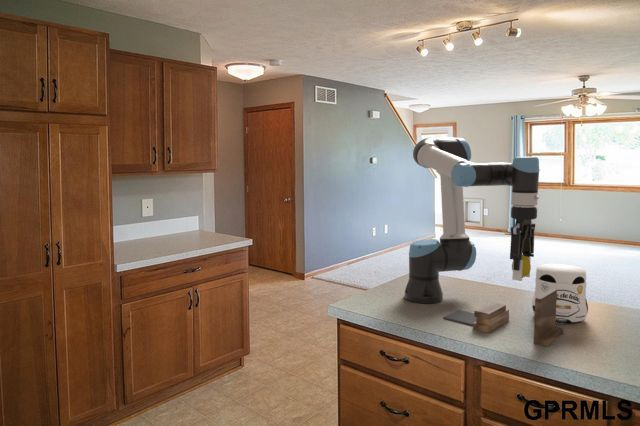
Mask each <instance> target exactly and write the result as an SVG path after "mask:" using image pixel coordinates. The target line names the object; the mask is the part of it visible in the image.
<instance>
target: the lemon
mask: <svg viewBox="0 0 640 426" xmlns="http://www.w3.org/2000/svg"><path fill="white" fill-rule="evenodd" d="M521 260H523V268H522V279H523V278H527V277H526V276H527V275H528V274H529V273H530V274H531V268H532V267H531V260H530V261H529V259H528V258H527V257H525V256H524V255H523V254H522V259H521ZM511 271H512V272H513V262H512V264H511Z"/></svg>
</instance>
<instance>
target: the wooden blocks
mask: <svg viewBox="0 0 640 426" xmlns="http://www.w3.org/2000/svg"><path fill="white" fill-rule="evenodd" d="M556 301H557V290H556V289H551V290H549V291H547V292H546V293H544V294H542V295H540V296H538V297H537V298H535V314H534V317H533V318H534V323H533V344H535V345H538V346H539V345H540V346H543V347H547V348H548V347H549V346H551V344H553V343H554V342H555V341H557V340H558V339H559V338H560V337H562V336H563V335H564V328H565V327H560V326H556V324H557V323H556ZM473 313H474V317H476V322H474V323H473V326H472V329H473V330H475V331H480V332H484V333H490V332H492V331H494V330H495V329H496V328H498V327H500V326H502V325H504V324H506V323H507V322H509V321H510V309H509V308H507V305H506V304H504V303H498V302H494V301H492V302H489V303H487V304H485V305H483V306H480V307H479V308H476V309H475V310H474V311H473Z"/></svg>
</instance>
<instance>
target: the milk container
mask: <svg viewBox="0 0 640 426" xmlns="http://www.w3.org/2000/svg"><path fill="white" fill-rule="evenodd" d="M551 289H556V290H557V301H556V323H555V324H563V325H570V324H571V325H574V324H580V323H582V322H584V321H585V320H586V319H587V317H588V313H589V312H588V311H589V305H588V301H587V293H586V291H587V272H586V269H584V268H583V267H580V266H576V265H571V264H563V263H542V264H538V265H537V266H536V270H535V289H534V294H533V296H532V299H531V308H532V313H533V314H534V315H535V298H537V297H538V296H540V295H542V294H544V293H546V292H547V291H549V290H551Z"/></svg>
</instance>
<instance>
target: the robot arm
mask: <svg viewBox="0 0 640 426" xmlns="http://www.w3.org/2000/svg"><path fill="white" fill-rule="evenodd" d="M412 157H413V159H414V162H415V163H416V164H417V165H418V166H419V167H422V168H425V169H432V170H435V172H436V173H437V174H438V175H439V176H440V177H439V178H440V192H441V193H440V194H441V195H440V196H441V215H442V218H441V219H442V234H441V235H440V237H439V240H438V239H436V238H427V239H425V238H424V239H419V240H415V241H413V242H411V244H410V245H409V250H408V281H407V284H406V286H405V289H404V299H405V300H407V301H410V302H412V301H413V302H412V303H418V304H437V303H439V302H442V301H443V300H444V293H443V290H442V287H441V283H440V280H439V275H440V272H441V273H442V272H455V271H459V272H461V271H466V270H469V269H471V268H472V267H473V265H475V262H476V260H477V249H476V248H477V247H476V245H475V243H474V242H473V241H471V240H470V236H469V235H468V234H466V226H465V225H466V223H465V222H466V221H465V206H464V204H465V203H464V188H467V187H488V186H489V187H493V186H499V187H500V186H506V187H507V186H508V187H509V186H510V187H511V200H510V204H511V205H512V206H511V207H510V208H511V209H510V217H511V219H515V224H514V227H513V226H511V227H510V248H509V249H510V250H509V259H510V260H512V263H513V271H512V280H513V281H518V282H522V281H523V278H522V268H523V260H521V259H522V255H524V256H525V257H527V258H528V259H529V261H530V262H531V259H532V258H534V256H535V254H534V251H535V229H536V223H532V220H536V219H537V218H538V207H537V205H538V200H539V199H540V196H539V195H538V192H539V180H540V179H539V177H540V176H539V175H540V171H541V170H540V159H539V157H537V156H515V157H514V158H513V159H512V160H513V161H512V162H503V161H502V162H501V161H500V162H473V161H471V159H472V149H471V146H470V144H469V142H468V141H466V139H464V138H462V137H452V136H451V137H427V138H424V139H421V140H420V141H417V143H416V145H414V148H413V150H412ZM530 276H531V272H530V273H529V274H528V275H527V276H526V277H525V278H530Z"/></svg>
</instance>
